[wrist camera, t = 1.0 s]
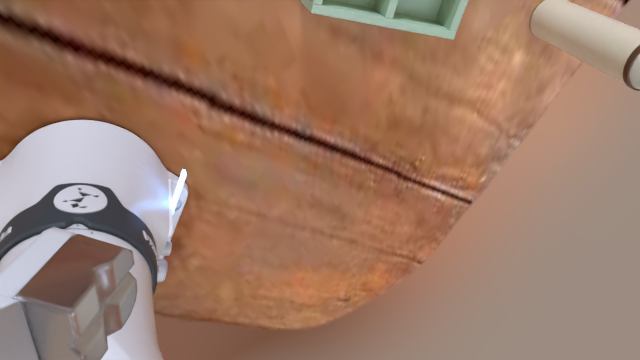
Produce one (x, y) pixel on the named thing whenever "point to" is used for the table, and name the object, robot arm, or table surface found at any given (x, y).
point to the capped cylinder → (590, 38)
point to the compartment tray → (397, 14)
